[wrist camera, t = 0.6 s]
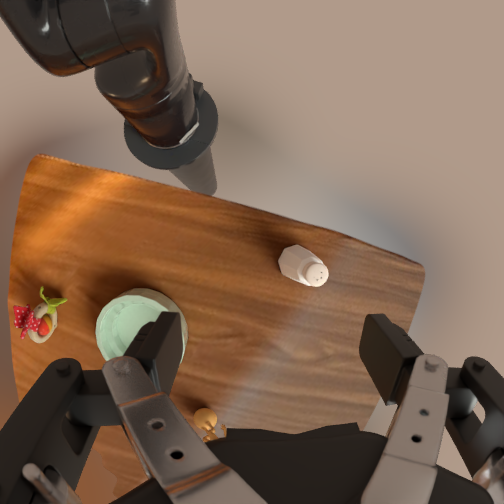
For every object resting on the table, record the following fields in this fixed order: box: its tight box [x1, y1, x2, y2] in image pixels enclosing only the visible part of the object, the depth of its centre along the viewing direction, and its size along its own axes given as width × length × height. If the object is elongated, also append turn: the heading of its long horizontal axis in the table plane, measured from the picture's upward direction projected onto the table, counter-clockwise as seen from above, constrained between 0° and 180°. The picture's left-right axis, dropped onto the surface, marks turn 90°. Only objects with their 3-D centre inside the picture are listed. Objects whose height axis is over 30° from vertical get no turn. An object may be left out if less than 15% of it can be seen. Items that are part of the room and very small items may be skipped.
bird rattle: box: [13, 286, 67, 343], centre depth 37 cm, size 6×11×9 cm
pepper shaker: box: [278, 244, 328, 287], centre depth 39 cm, size 5×5×11 cm
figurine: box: [193, 408, 226, 442], centre depth 40 cm, size 8×6×12 cm
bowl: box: [95, 288, 188, 363], centre depth 41 cm, size 14×14×5 cm
